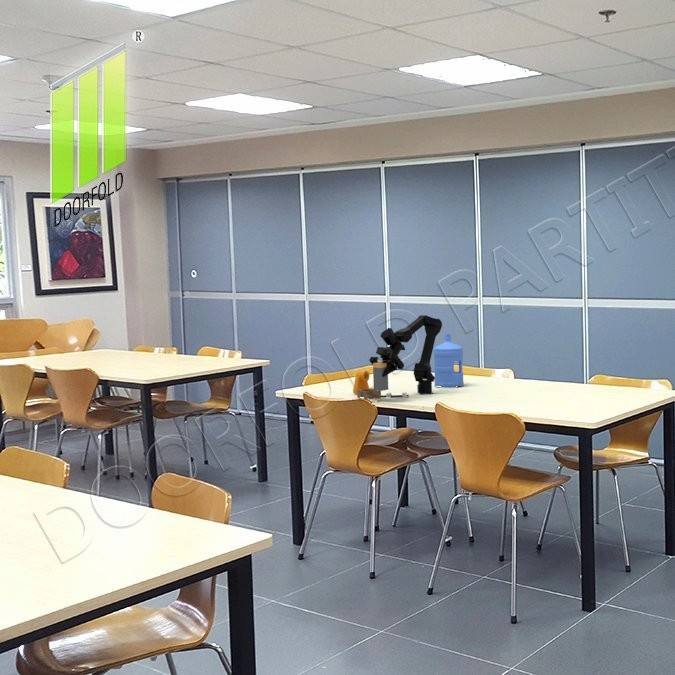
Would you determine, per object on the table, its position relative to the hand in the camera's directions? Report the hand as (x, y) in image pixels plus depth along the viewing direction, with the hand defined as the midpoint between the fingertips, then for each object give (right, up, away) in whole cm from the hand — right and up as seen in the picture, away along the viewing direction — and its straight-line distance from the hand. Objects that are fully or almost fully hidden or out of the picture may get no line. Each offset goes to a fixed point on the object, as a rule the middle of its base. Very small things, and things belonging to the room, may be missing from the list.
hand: (378, 376), depth 444 cm
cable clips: (+9, -11, +15) cm, 21 cm away
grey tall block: (+1, -7, +1) cm, 7 cm away
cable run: (+8, -11, +15) cm, 21 cm away
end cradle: (-4, -11, +16) cm, 20 cm away
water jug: (+40, -8, +53) cm, 67 cm away
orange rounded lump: (-6, -11, +31) cm, 33 cm away
